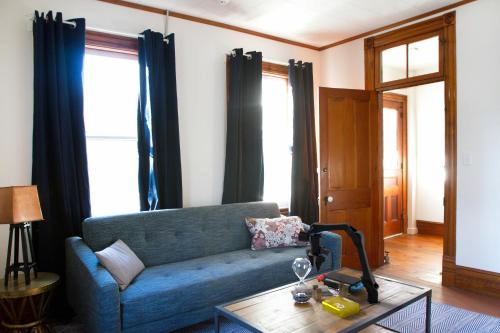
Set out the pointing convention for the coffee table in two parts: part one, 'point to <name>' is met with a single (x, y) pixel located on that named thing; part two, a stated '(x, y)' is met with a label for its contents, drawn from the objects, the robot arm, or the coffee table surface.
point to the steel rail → (310, 289)
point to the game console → (341, 281)
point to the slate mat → (312, 294)
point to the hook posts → (318, 292)
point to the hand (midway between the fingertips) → (315, 269)
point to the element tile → (340, 306)
